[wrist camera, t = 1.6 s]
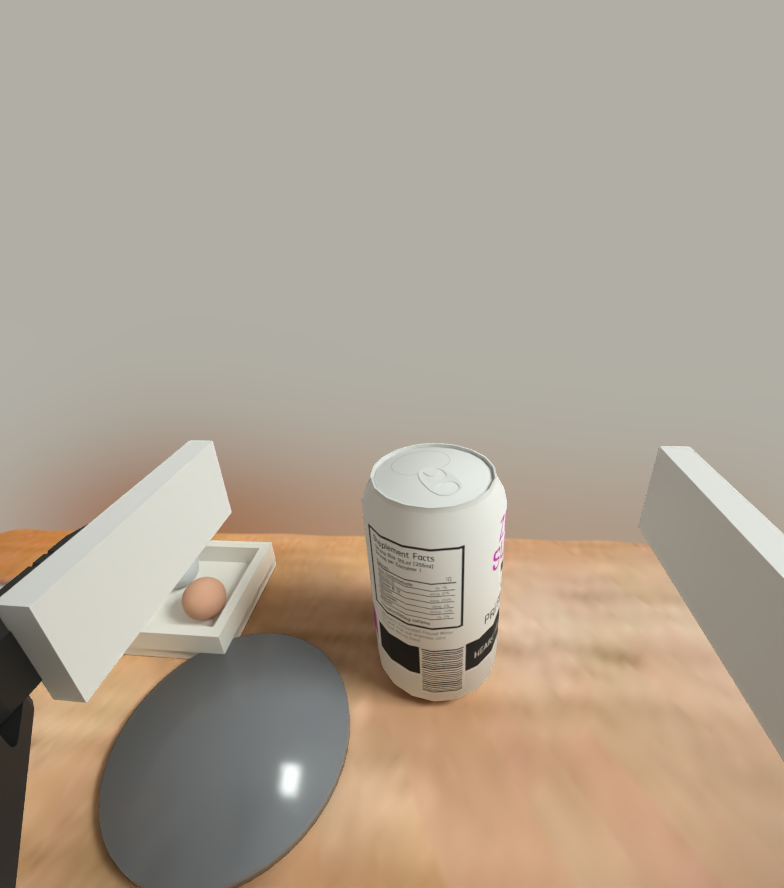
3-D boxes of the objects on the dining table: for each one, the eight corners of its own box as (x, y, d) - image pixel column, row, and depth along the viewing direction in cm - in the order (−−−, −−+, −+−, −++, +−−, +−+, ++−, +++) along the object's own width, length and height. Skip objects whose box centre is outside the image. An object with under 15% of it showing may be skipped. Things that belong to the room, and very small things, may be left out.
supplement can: (363, 629, 33) (341, 457, 26) (457, 592, 35) (459, 428, 29) (407, 730, 26) (392, 534, 19) (519, 676, 29) (541, 487, 22)
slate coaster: (367, 646, 31) (366, 638, 31) (314, 921, 19) (311, 914, 19) (190, 634, 33) (187, 627, 33) (37, 878, 21) (30, 871, 20)
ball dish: (276, 564, 40) (271, 542, 39) (227, 661, 31) (218, 637, 30) (177, 560, 41) (169, 538, 40) (102, 652, 32) (89, 628, 31)
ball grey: (210, 570, 38) (200, 542, 37) (191, 597, 36) (180, 568, 34) (177, 568, 39) (166, 540, 37) (155, 595, 36) (143, 566, 35)
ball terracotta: (237, 598, 35) (228, 568, 34) (218, 630, 32) (208, 600, 31) (201, 596, 36) (190, 567, 34) (179, 628, 33) (167, 598, 31)
